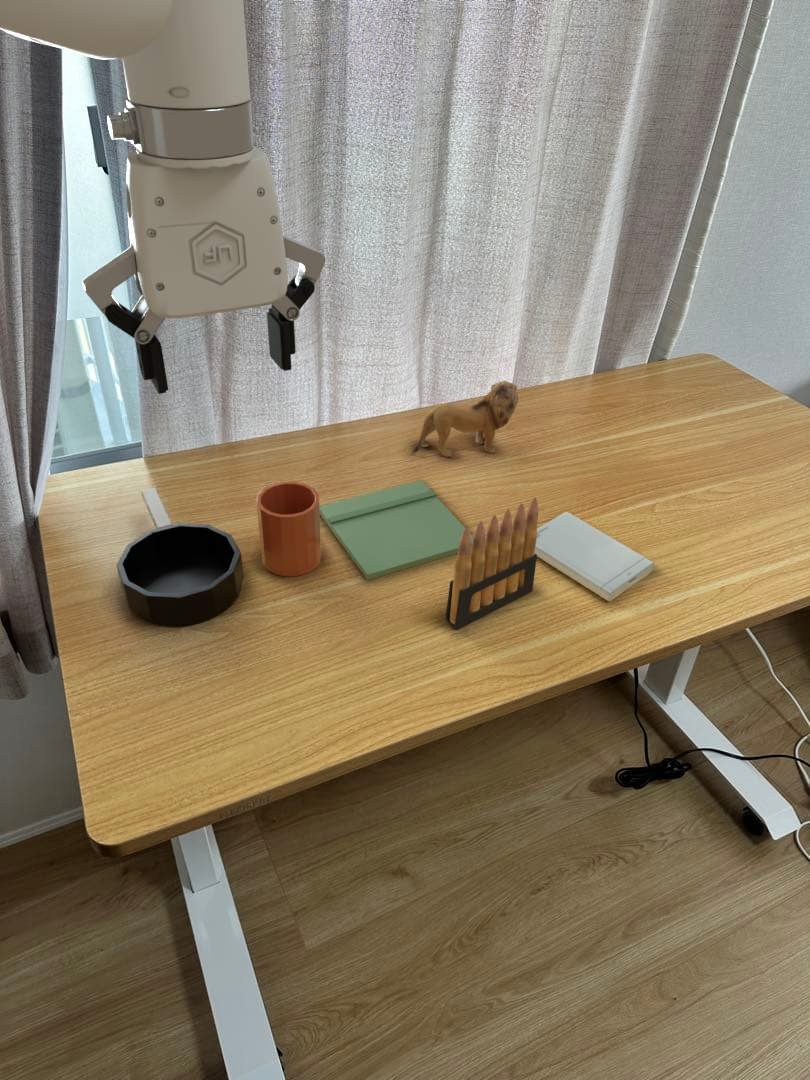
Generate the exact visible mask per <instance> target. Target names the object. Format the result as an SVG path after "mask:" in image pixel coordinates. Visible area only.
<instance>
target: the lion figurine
mask: <svg viewBox="0 0 810 1080" xmlns="http://www.w3.org/2000/svg"><path fill="white" fill-rule="evenodd" d="M517 391H518V386H517V385H516V384H514V383H512V382H509V381H507V380H502V381H499V382H496V383H494V384H492V385H491V386H490V391H489V392H488V393H487V394H484V396H483V397H482V400H480V401H479V402H477V403H476V404H472V405H455V404H452V403H441V404H438V405H435V406H434V407H432V409H430V411H428V412H427V414H426V416H425V417H424V419H423V423H422V426H421V429H420V432H419V433H420V434H419V439H418V441H417V443H416V445H414V448H413V449H412V450H411V453H418V452H419V450H420V448H421V447H422V448H427V447H429V446H430V442H429V441H428V440H426V438H427V437H428V436H429V435H430V434H432V433H434V432H435V431H436V433H437V436H438V440H437V444H436V445H437V448H438V449H439V451H440V452H441V454H442V455H443V456H444V457H446V458H451V457H453V452H452V450H450V449H447V447H446V442H447V440H448V438H449V436H450V435H451V431H452V428H453V429H455V430H456V431H458V432H461V433H467V434H468V433H475V442H476V443H477V444H479V445H483V444H484V445H483V446H484V448H485V451H486V452H487V453H489V454H494V453H495V452H496V448H495V447H494V446H492V444H493V441H494V439H495V434H496V431H497V430H499V429H501V428H504V427H505V426H506V425H507V424H508V423H509V422H510V420H511V418H512V416H513V414H514V413H515V410H516V407H517V405H518V403H519V395H518V392H517Z"/></svg>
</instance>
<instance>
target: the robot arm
mask: <svg viewBox="0 0 810 1080" xmlns="http://www.w3.org/2000/svg"><path fill="white" fill-rule="evenodd" d="M245 18H246V17H245V7H244V0H0V30H2V31H3V32H5V33H7V34H9V35H12V36H14V37H17V38H20V39H23V40H25V41H29V42H32V43H33V42H34V43H37V44H40V45H43V46H47V47H54V48H58V49H61V50H65V51H69V52H72V53H75V54H79V55H81V56H84V57H87V58H92V59H97V60H102V61H103V60H104V61H105V60H120V59H121V61H122V68H123V74H124V80H125V87H126V91H127V92H126V93H127V99H125V102H126V107H124V111H123V112H121V111H119V112H118V114H111V115H110V114H109V115H107V119H106V120H107V127H108V131H109V135H110V138H111V140H124V141H125V142H130V143H131V144H132V145H133V146H134V147H135V151H132V152H130V153H129V154H127V157H126V209H127V218H128V219H127V222H128V223H127V224H128V233H129V235H128V236H129V243H130V244H129V245H130V246H129V247H128V248H126V249H125V250H123V251H122V252H120V253H119V254H118V255H116V256H115V257H112V259H111V260H109V261H108V262H106V263H105V264H103V265H102V266H101V267H99V268H97V269H96V270H94V271H93V272H91V273H90V274H88V275H87V276H86V277H84V278H83V279H82V282H81V284H82V287H83V290H84V291H85V294H87V296H88V297H89V298H90V300H91V302H93V304H94V305H95V306H96V307H97V308H98V310H99V311H100V312H101V313H102V314H103V315H104V317H105V318H106V320H107V321H108V322H109V323H110V324H112V325H113V326H115V327H116V328H118V329H119V330H120V331H122V332H124V333H125V334H127V335H128V336H130V337H131V338H132V339H134V342H135V347H136V355H137V360H138V364H139V369H140V374H141V376H142V378H143V380H144V381H151V383H152V385H153V386H154V388H155V390H156V391H157V393H158V394H159V395H162V394H165V393H167V391H169V384H168V380H167V379H168V378H167V373H166V367H165V359H164V354H163V347H162V344H161V342H160V340H159V338H158V337H157V335H156V333H157V332H158V330H159V329H160V327H161V326H162V324H163V322H164V321H165V319H169V320H176V319H177V320H179V319H187V318H195V317H202V316H209V315H214V314H222V313H227V312H228V313H229V312H235V311H241V310H249V309H253V308H259V307H265V306H269V305H270V307H271V308H268V311H267V312H266V323H267V336H268V351H269V356H270V358H271V359H272V361H273V362H274V363H275V364H276V365H277V366H278V368H279V369H280V370H281V371H284V372H286V371H291V370H292V356H293V355H295V354H296V349H297V348H296V331H295V321H296V320H297V319H298V318H299V317H300V315H301V311H300V310H301V309H302V308H303V306H304V305H305V304H306V303H307V301H308V300H309V299H310V298H311V297H312V295H313V294H314V293H315V289H316V286H315V284H316V282H318V280H319V278H320V275H321V273H322V271H323V269H324V266H325V264H326V257H325V255H324V254H323V253H322V252H320V251H319V250H318V249H316V248H314V247H312V246H309V245H307V244H305V243H303V242H300V241H297V240H296V239H293V238H290V237H288V236H286V235H284V234H283V226H282V219H281V213H280V208H279V201H278V196H277V192H276V185H275V181H274V176H273V172H272V168H271V164H270V161H269V156H268V154H267V153H266V152H265V151H263V150H261V149H259V148H257V147H255V144H254V143H255V142H254V129H253V127H254V126H253V116H252V102H251V101H252V100H251V91H250V90H251V88H250V76H249V75H250V74H249V62H248V46H247V34H246V21H245V20H246V19H245ZM287 259H288V260H289V259H290V260H291V261H294V262H296V263H299V267H298V269H297V271H298V272H297V274H295V275H294V276H293V278H292V279H291V280H290V282H288V280H289V279H288V278H289V277H288V266H287V265H288V264H287ZM131 277H134V280H135V284H136V287H137V290H138V292H139V294H140V295H141V296H140V297H139V299H138V301H137V302H136V304H135V305H134V307H133V308H132V310H130V309H129V308H127V307H126V306H124V305H123V304H121V303H120V302H119V301H117V300H116V298H115V297H114V296H113V291H114V289H115V288H117V287H119V286H120V285H122V284H123V283H125V282H126V281H127V280H129V279H130V278H131ZM291 355H292V356H291Z"/></svg>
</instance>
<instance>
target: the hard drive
mask: <svg viewBox="0 0 810 1080" xmlns="http://www.w3.org/2000/svg"><path fill="white" fill-rule="evenodd" d="M534 554H536V555H537V558H539V559H540V560H542V561H544V562H545V563H547V564H548V565H550V566H552V567H553V568H555V569H556V570H558V571H559V572H561V573H563V574H564V575H566V576H568V577H569V578H570V579H572V580H574V581H575V582H577V583H578V584H581V585H582V586H583V587H585V588H587V589H588V590H589V591H591V592H593V593H594V594H596V595H597V596H599V597H601V598H602V599H604V600H606V601H607V602H611V601H613V600H614V599H615V598H617V597H618V596H620V595H621V594H623V593H624V592H626V591H627V590H628V589H630V588H631V587H633V586H635V585H636V584H638V582H640V581H641V580H643V579H644V578H646V577H647V576H649V575H650V574H651V573H652V572H653V571H654V567H655V564H656V563H655V562H654V561H652V560H651V559H649V558H647V557H646V556H644V555H643V554H641V553H639V552H637V551H635V550H634V549H632V548H630V547H629V546H628V545H626V544H624V543H622V542H620V541H619V540H617V539H615V538H613V537H612V536H610V535H609V534H607V533H605V532H603V531H601V530H599V529H598V528H596V527H594V526H592V525H591V524H589V523H588V522H586V521H585V520H582V519H581V518H579V517H577V516H576V515H574V514H572V513H571V512H568V511H565V512H563V513H561V514H559V515H558V516H556V517H554V518H552V519H551V520H549V521H548V522H545V523H544V524H542V525H541V526H540V527H537V540H536V546H535V552H534Z"/></svg>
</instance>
